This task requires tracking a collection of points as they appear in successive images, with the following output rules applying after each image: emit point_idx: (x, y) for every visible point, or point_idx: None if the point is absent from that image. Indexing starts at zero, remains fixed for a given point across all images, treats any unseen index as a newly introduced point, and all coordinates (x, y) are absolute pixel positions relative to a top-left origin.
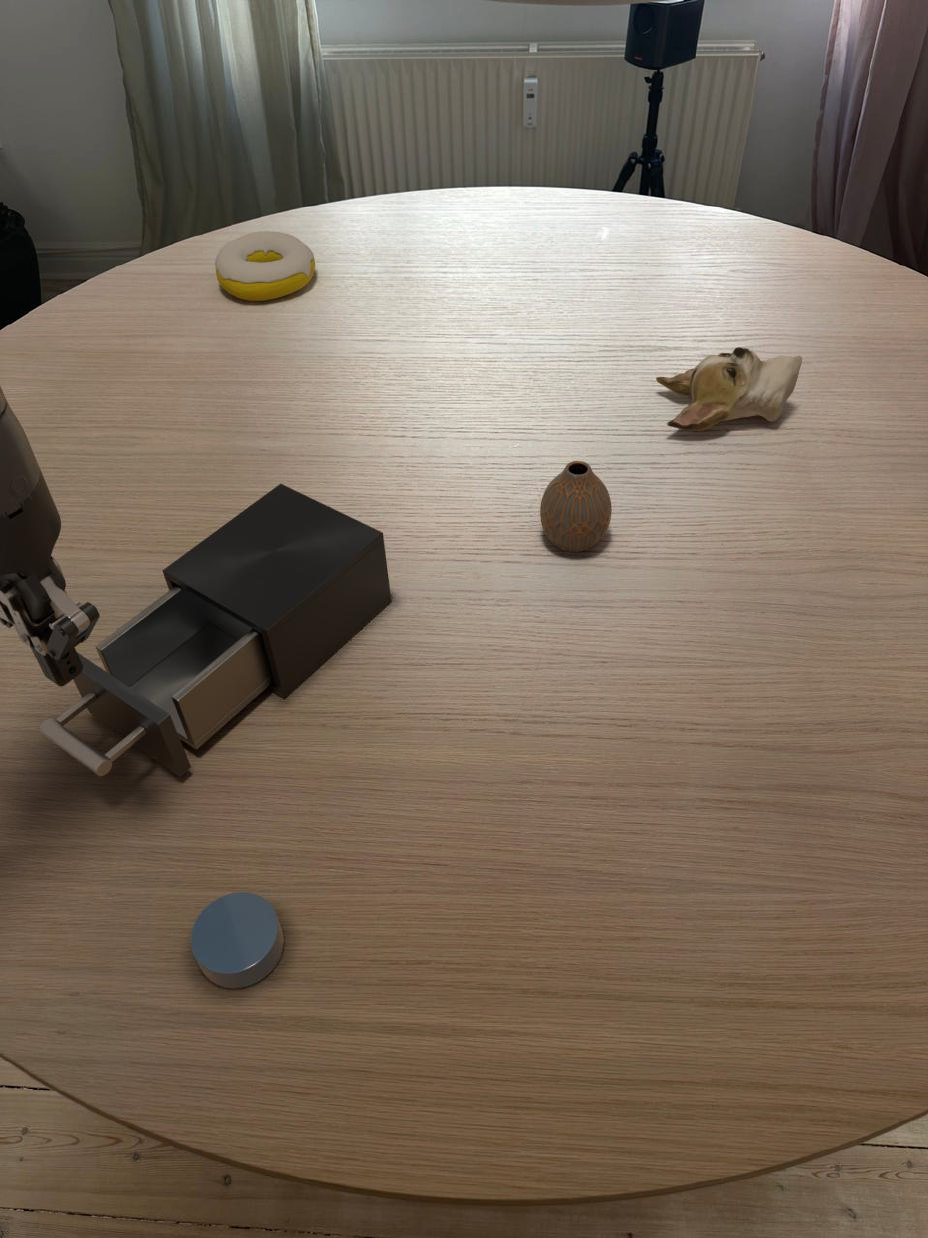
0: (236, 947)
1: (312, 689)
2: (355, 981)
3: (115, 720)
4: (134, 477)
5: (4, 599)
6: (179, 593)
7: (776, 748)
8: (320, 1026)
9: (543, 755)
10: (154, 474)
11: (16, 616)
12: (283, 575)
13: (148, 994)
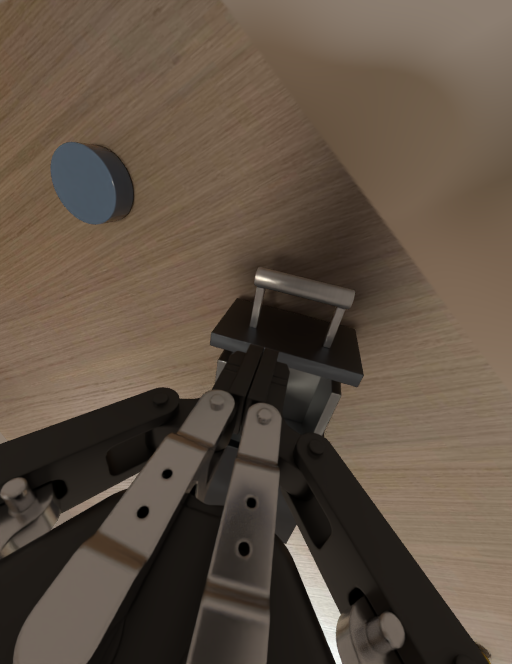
0: (71, 173)
1: (211, 386)
2: (33, 200)
3: (306, 327)
4: (464, 526)
5: (68, 608)
6: None
7: (12, 399)
8: (21, 157)
9: (76, 375)
10: (447, 527)
11: (145, 501)
12: (220, 477)
13: (125, 104)
